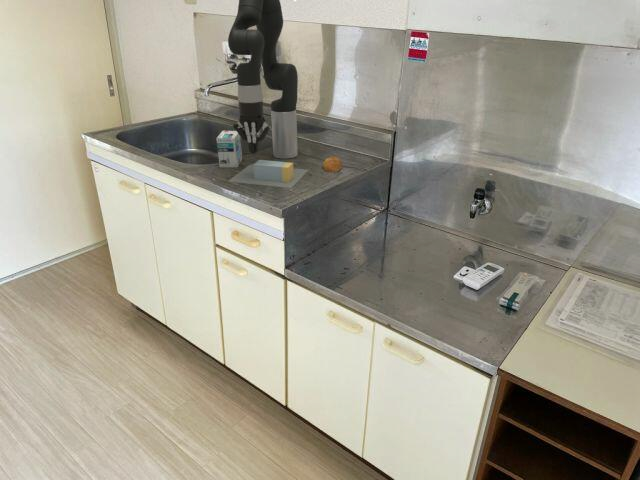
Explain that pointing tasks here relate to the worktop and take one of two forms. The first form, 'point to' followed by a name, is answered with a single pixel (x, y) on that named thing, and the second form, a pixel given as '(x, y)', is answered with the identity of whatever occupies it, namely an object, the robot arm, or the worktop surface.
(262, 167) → the block
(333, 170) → the pastry
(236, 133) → the light bulb box
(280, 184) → the mat
